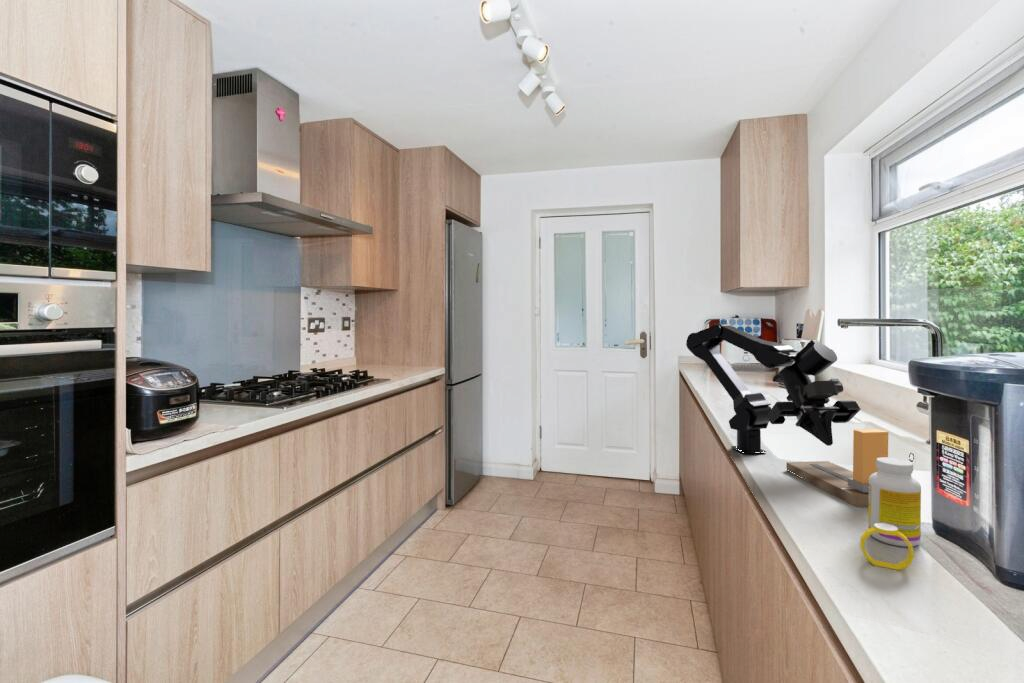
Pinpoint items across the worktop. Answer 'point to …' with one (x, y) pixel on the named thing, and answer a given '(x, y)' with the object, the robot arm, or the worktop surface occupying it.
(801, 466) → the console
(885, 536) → the supplement bottle
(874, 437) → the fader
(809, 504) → the worktop surface
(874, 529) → the watch
